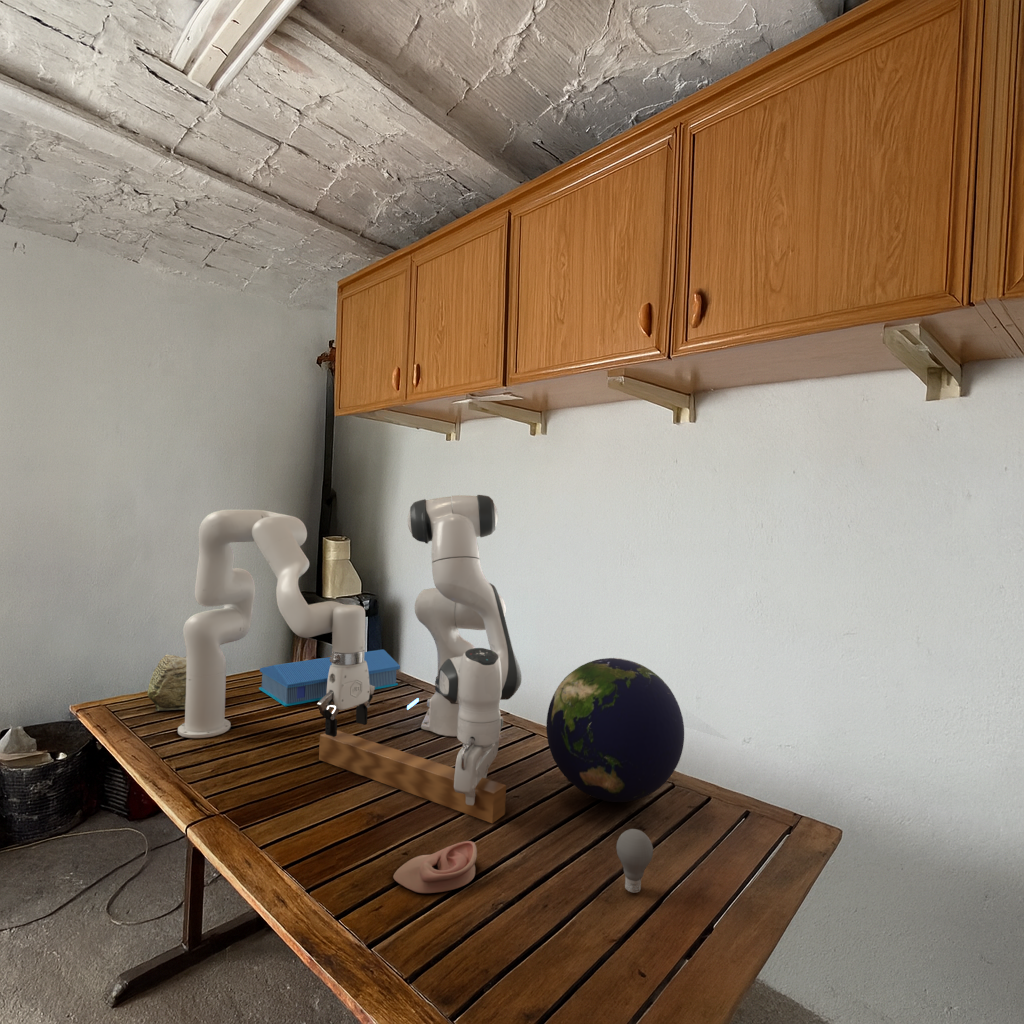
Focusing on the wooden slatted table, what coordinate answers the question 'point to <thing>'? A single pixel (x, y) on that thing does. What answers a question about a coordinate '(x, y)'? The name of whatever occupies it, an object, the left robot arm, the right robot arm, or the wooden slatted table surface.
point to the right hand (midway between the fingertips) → (475, 795)
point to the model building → (320, 677)
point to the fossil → (169, 683)
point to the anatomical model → (439, 869)
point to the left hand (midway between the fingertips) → (346, 729)
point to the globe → (615, 730)
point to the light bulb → (634, 857)
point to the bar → (411, 774)
